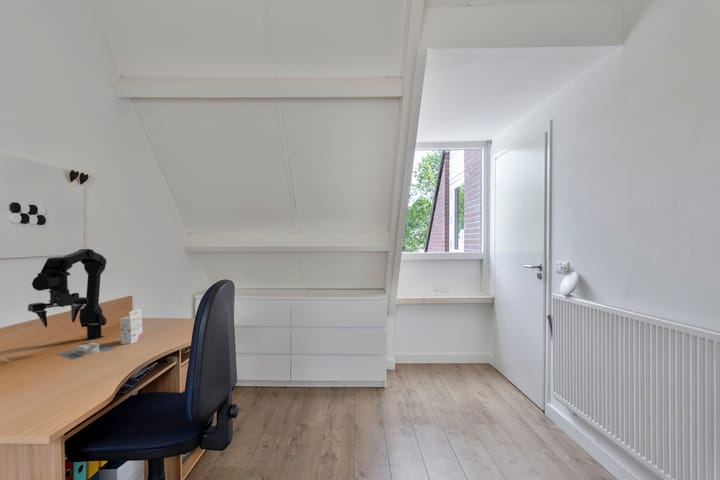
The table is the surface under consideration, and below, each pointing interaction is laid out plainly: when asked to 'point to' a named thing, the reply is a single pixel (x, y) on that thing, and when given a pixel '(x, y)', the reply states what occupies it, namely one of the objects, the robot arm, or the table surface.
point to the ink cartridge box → (131, 327)
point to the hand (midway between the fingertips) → (60, 324)
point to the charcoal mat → (74, 355)
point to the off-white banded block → (87, 348)
